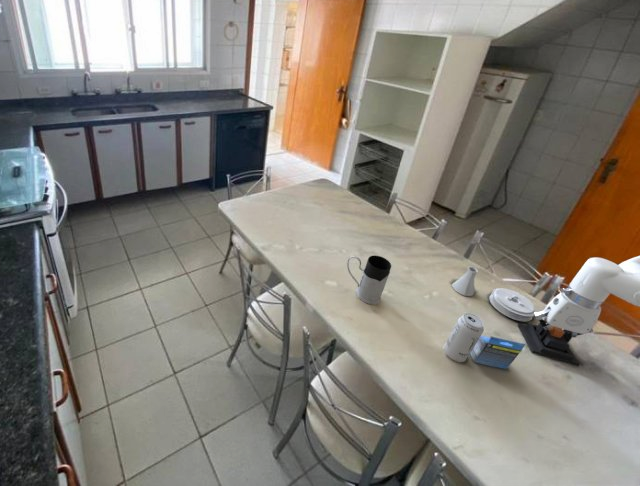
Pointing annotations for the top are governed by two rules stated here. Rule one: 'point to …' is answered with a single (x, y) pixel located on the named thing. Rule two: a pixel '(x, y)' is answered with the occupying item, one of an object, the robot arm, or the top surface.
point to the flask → (466, 282)
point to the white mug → (372, 279)
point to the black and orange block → (555, 338)
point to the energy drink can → (464, 337)
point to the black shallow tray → (543, 350)
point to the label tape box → (496, 351)
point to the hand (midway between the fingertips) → (550, 338)
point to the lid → (512, 304)
